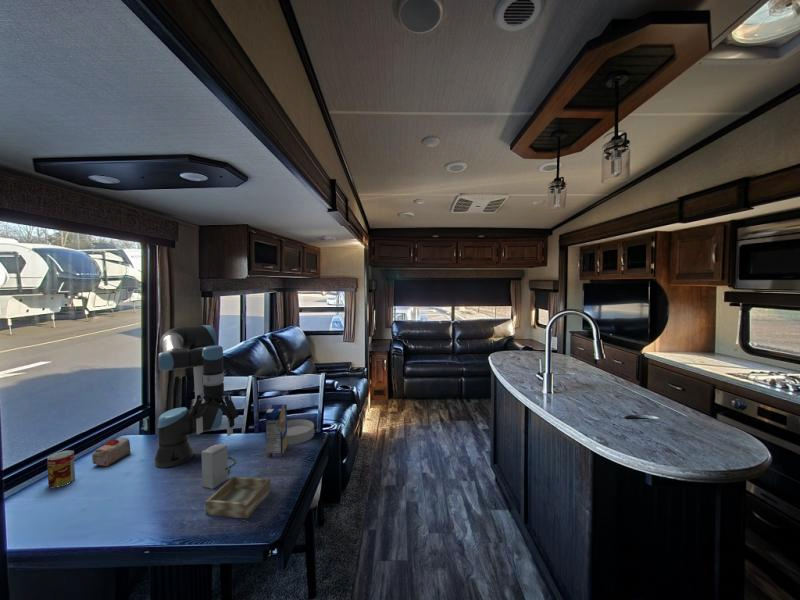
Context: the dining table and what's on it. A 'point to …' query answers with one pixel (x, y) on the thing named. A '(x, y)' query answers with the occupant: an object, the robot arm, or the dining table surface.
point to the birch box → (238, 497)
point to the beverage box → (276, 430)
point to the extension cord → (231, 465)
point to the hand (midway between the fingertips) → (214, 433)
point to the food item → (111, 452)
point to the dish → (299, 431)
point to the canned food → (61, 468)
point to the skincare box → (214, 466)
